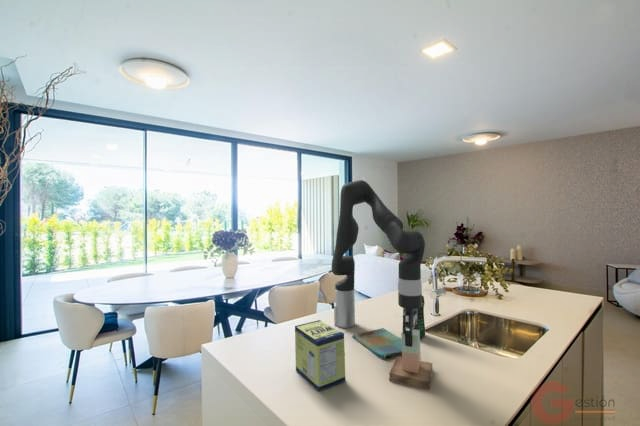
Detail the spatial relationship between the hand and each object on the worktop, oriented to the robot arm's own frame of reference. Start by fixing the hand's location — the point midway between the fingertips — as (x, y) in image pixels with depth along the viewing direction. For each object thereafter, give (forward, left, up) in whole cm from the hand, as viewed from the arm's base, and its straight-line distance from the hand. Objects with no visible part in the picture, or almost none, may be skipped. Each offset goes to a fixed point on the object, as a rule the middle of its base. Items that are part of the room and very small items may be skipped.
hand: (410, 340), depth 98 cm
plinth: (0, 0, -12) cm, 12 cm away
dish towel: (-14, +20, -12) cm, 27 cm away
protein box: (-28, -12, -12) cm, 33 cm away
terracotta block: (0, 0, -9) cm, 9 cm away
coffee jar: (-4, +34, -12) cm, 36 cm away
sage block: (0, 0, -3) cm, 3 cm away
